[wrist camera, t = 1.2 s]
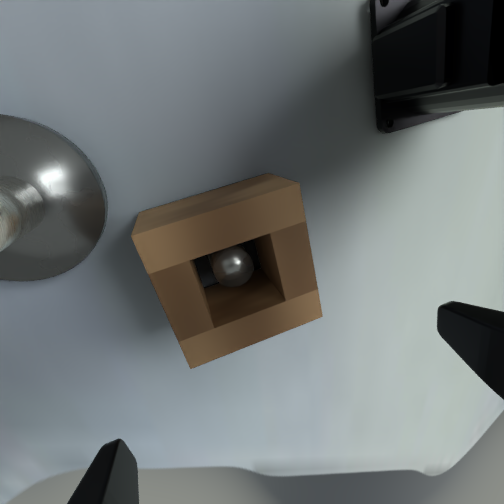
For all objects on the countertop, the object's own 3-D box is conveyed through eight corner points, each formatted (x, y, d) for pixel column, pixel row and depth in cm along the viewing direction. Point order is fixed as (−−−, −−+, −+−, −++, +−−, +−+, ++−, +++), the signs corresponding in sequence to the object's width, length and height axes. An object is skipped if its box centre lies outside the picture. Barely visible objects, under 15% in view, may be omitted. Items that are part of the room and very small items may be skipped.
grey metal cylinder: (236, 229, 16) (248, 244, 14) (245, 261, 17) (257, 279, 15) (202, 241, 16) (208, 257, 14) (212, 272, 17) (220, 292, 15)
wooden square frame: (268, 172, 16) (299, 182, 12) (292, 282, 19) (322, 316, 15) (139, 212, 15) (130, 236, 11) (185, 321, 18) (190, 368, 14)
